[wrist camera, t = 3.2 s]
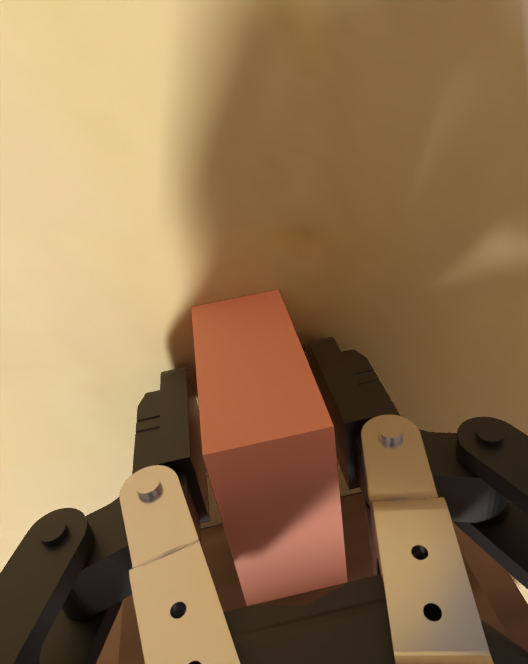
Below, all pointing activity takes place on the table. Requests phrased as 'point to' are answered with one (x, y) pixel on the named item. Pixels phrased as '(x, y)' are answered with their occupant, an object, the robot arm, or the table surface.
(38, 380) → the table surface
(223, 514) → the tall salmon pink box
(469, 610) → the robot arm
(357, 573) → the box
